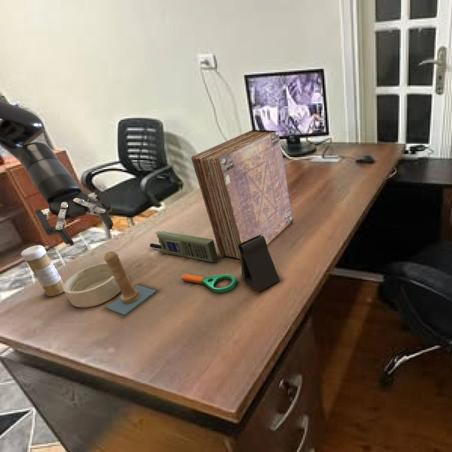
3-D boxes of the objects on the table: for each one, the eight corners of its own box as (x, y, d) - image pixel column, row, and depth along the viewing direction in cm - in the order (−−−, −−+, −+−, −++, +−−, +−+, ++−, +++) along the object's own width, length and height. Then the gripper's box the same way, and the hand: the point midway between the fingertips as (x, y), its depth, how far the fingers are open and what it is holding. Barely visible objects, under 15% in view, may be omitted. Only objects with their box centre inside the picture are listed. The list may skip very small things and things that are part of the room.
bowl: (91, 314, 84) (82, 298, 81) (61, 301, 89) (52, 286, 87) (136, 282, 93) (129, 267, 91) (107, 273, 99) (100, 258, 96)
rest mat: (125, 315, 82) (124, 314, 82) (106, 308, 85) (105, 307, 85) (156, 291, 89) (156, 290, 89) (138, 285, 92) (137, 284, 92)
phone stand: (280, 281, 88) (271, 241, 82) (259, 293, 85) (248, 252, 79) (262, 267, 94) (253, 228, 88) (242, 277, 91) (231, 238, 85)
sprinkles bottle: (49, 289, 94) (23, 248, 88) (68, 283, 96) (44, 242, 89) (45, 299, 91) (17, 256, 84) (65, 293, 92) (40, 250, 86)
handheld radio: (212, 264, 98) (147, 251, 107) (220, 258, 100) (156, 246, 110) (207, 243, 95) (140, 232, 104) (215, 237, 97) (149, 227, 106)
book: (246, 263, 96) (218, 159, 82) (220, 257, 100) (189, 157, 85) (293, 220, 116) (278, 130, 101) (270, 216, 120) (252, 129, 105)
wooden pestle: (129, 305, 85) (106, 258, 78) (119, 301, 86) (95, 255, 79) (143, 295, 88) (122, 249, 81) (133, 291, 89) (111, 246, 82)
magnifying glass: (241, 279, 90) (239, 274, 89) (228, 294, 85) (226, 289, 84) (192, 273, 95) (190, 268, 94) (177, 287, 90) (175, 282, 89)
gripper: (15, 184, 77) (56, 243, 76) (86, 164, 86) (123, 216, 85) (22, 201, 83) (60, 256, 82) (87, 180, 92) (122, 229, 91)
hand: (92, 235), depth 83 cm, fingers open, 8 cm apart
